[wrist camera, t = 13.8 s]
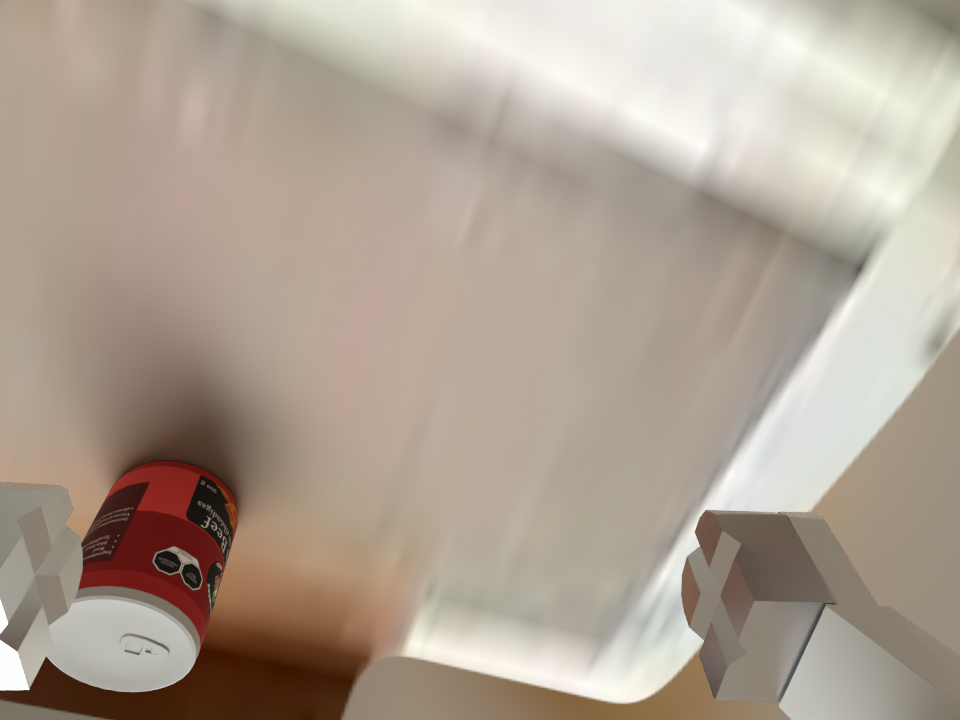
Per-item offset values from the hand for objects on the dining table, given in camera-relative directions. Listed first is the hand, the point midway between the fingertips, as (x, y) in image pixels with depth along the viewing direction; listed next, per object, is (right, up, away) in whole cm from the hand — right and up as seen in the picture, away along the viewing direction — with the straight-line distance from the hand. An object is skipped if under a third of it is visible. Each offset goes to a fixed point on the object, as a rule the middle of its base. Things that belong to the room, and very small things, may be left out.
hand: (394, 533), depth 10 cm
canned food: (-18, -7, +40) cm, 44 cm away
